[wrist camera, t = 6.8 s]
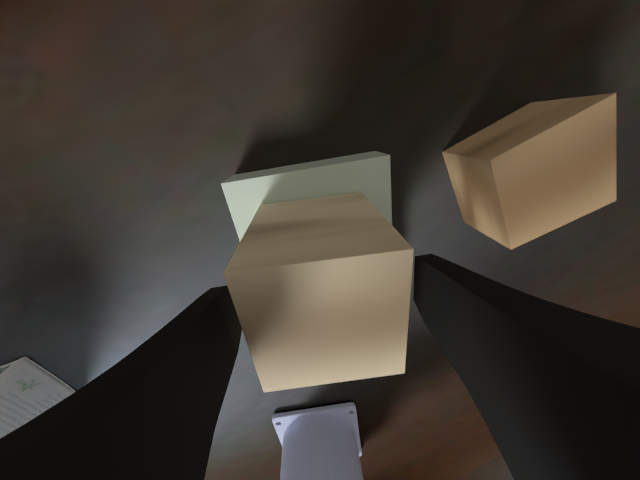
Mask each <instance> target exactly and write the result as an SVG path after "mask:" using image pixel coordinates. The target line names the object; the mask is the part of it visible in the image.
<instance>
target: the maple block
mask: <svg viewBox="0 0 640 480" xmlns="http://www.w3.org/2000/svg"><path fill="white" fill-rule="evenodd" d="M413 250H414V249H413V248H412V247H411V246H410V244H409V243H408V242H407V241H406V240H405V239H404V238H403V237H402V236H401V235H400V233H399V232H398V231H397V230H396V229H395V228H394V227H393V226H392V225H391V224H390V222H389V221H388V220H387V219H386V218H385V217H384V216H383V215H382V214H381V213H380V211H379V210H378V209H377V208H376V207H375V206H374V205H373V204H372V203H371V202H370V200H369V199H368V198H367V197H366V196H365V195H364V194H363V193H362V192H359V193H351V194H343V195H335V196H327V197H319V198H311V199H303V200H295V201H287V202H279V203H271V204H263V205H260V206H259V208H258V210H257V212H256V213H255V215H254V217H253V219H252V221H251V223H250V225H249V226H248V228H247V230H246V232H245V234H244V236H243V238H242V239H241V241H240V243H239V245H238V247H237V249H236V251H235V252H234V254H233V256H232V258H231V260H230V262H229V264H228V265H227V267H226V269H225V271H224V273H223V274H224V277H225V280H226V283H227V286H228V289H229V292H230V295H231V298H232V301H233V303H234V306H235V309H236V312H237V315H238V318H239V321H240V324H241V327H242V330H243V333H244V336H245V339H246V342H247V345H248V348H249V351H250V354H251V356H252V359H253V362H254V365H255V368H256V371H257V374H258V377H259V380H260V383H261V386H262V389H263V392H271V391H278V390H285V389H293V388H300V387H308V386H315V385H322V384H330V383H337V382H345V381H352V380H359V379H367V378H374V377H382V376H389V375H396V374H404V373H405V362H406V348H407V334H408V320H409V306H410V292H411V278H412V264H413Z"/></svg>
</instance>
